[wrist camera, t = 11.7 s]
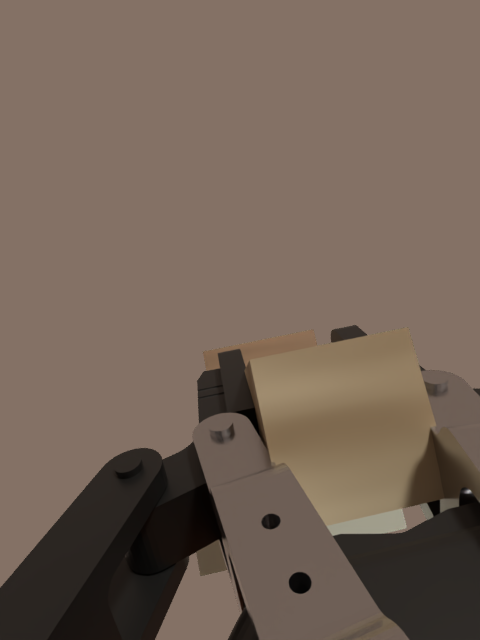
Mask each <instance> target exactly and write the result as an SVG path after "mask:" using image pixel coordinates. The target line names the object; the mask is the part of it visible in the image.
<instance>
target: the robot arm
mask: <svg viewBox="0 0 480 640" xmlns="http://www.w3.org/2000/svg"><path fill="white" fill-rule="evenodd" d="M363 336H367V334H366V333H364V332H363V331H362V330H361V329H360V328H358V326H356V325H353V326H349V327H344V328H339V329H334V330H332V331H331V343H333V342H338V341H343V340H348V339H353V338H358V337H363ZM218 359H219V365H220V368H218V369H214V370H209V371H204V372H203V373H202V375H201V376H200V378H199V379H198V381H197V383H198V409H199V424H198V425H197V427H196V428H195V429H194V431H193V442H192V443H191V444H190V445H189V446H188V447H186V448H185V449H184V450H182V451H180V452H179V453H176V454H174V455H172V456H170V457H167V458H165V459H163V460H162V457H161V456H160V454H159V453H158V452H156V451H155V450H152V449H148V448H140V449H134V450H130V451H127V452H124V453H122V454H120V455H118V456H116V457H114V458H113V459H111V460H110V461H109V462H108V463H106V464H105V466H104V467H103V468H102V469H101V470H100V471H99V472H98V474H97V475H96V476H95V477H94V478H93V479H92V481H91V482H90V483H89V484H88V485H87V486H86V488H85V489H84V490H83V491H82V492H81V494H80V495H79V496H78V497H77V498H76V499H75V501H74V502H73V503H72V504H71V505H70V507H69V508H68V509H67V510H66V511H65V512H64V514H63V515H62V516H61V517H60V519H58V521H57V522H56V523H55V524H54V525H53V527H52V528H51V529H50V530H49V531H48V533H47V534H46V535H45V536H44V537H43V538H42V540H41V541H40V542H39V543H38V544H37V545H36V547H35V548H34V549H33V550H32V551H31V552H30V554H29V555H28V556H27V557H26V558H25V559H24V561H23V562H22V563H21V564H20V565H19V567H18V568H17V569H16V570H15V571H14V573H13V574H12V575H11V576H10V577H9V578H8V580H7V581H6V582H5V583H4V584H3V586H2V587H1V588H0V640H155V638H156V636H157V634H158V631H159V629H160V627H161V625H162V622H163V620H164V617H165V616H166V613H167V611H168V609H169V607H170V604H171V602H172V600H173V598H174V595H175V593H176V591H177V589H178V586H179V584H180V582H181V580H182V577H183V575H184V573H185V571H186V569H187V566H188V562H189V556H190V555H191V554H193V553H195V552H197V551H199V550H201V549H202V548H204V547H206V546H208V545H210V544H211V543H213V542H215V541H217V540H219V543H220V547H221V550H222V553H223V557H224V560H225V563H226V567H227V570H228V573H229V577H230V580H231V583H232V587H233V590H234V593H235V597H236V601H237V604H238V607H239V611H240V617H239V618H238V620H237V622H236V624H235V626H234V628H233V630H232V632H231V634H230V636H229V638H228V640H480V389H472V388H471V387H470V386H469V385H468V383H466V381H465V380H463V379H462V378H461V377H459V376H457V375H455V374H452V373H449V372H445V371H437V370H425V369H423V368H422V367H421V366H420V365H419V367H420V370H421V374H422V377H423V381H424V384H425V388H426V391H427V395H428V398H429V402H430V405H431V408H432V412H433V415H434V419H435V422H436V426H433V427H430V428H431V433H432V438H433V443H434V448H435V453H436V458H437V463H438V467H439V472H440V478H441V483H442V488H443V493H444V498H445V499H441V500H436V501H432V502H428V503H423V504H420V506H421V508H422V510H423V513H424V515H425V517H426V519H427V521H425V522H423V523H421V524H419V525H417V526H415V527H414V528H412V529H410V530H408V531H406V532H403V533H397V534H338V535H334V536H332V534H331V533H330V531H329V530H328V528H327V526H326V525H325V523H324V522H323V520H322V519H321V517H320V515H319V514H318V512H317V511H316V509H315V508H314V506H313V504H312V503H311V501H310V500H309V498H308V497H307V495H306V493H305V492H304V490H303V489H302V487H301V486H300V484H299V482H298V481H297V479H296V478H295V476H294V475H293V473H292V471H291V470H290V468H289V467H288V466H287V464H285V463H280V464H278V465H276V464H275V462H271V460H270V456H269V453H268V450H267V449H266V447H265V445H264V444H263V442H262V440H261V439H260V433H259V428H258V422H257V416H256V411H255V406H254V403H253V399H252V396H251V392H250V389H249V385H248V382H247V378H246V375H245V372H244V371H245V369H246V366H245V363H244V360H243V356H242V353H241V350H240V349H235V350H230V351H225V352H220V353H218Z"/></svg>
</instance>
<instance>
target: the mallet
mask: <svg viewBox="0 0 480 640" xmlns="http://www.w3.org/2000/svg"><path fill="white" fill-rule="evenodd" d="M235 349H240V350H241V353H242V356H243V360H244V363H245V366H246V369H245V371H244V372H245V375H246V378H247V382H248V385H249V389H250V392H251V396H252V399H253V403H254V406H255V411H256V416H257V422H258V428H259V433H260V439H261V440H262V442H263V444H264V445H265V447H266V449H267V450H268V453H269V456H270V460H271V462H275V464H276V465H278V464H280V463H285V464H287V466H288V467H289V468H290V470H291V471H292V473H293V475H294V476H295V478H296V479H297V481H298V482H299V484H300V486H301V487H302V489H303V490H304V492H305V493H306V495H307V497H308V498H309V500H310V501H311V503H312V504H313V506H314V508H315V509H316V511H317V512H318V514H319V515H320V517H321V519H322V520H323V522H324V523H325V525H326V526H328V525H333V524H337V523H341V522H346V521H350V520H354V519H359V518H363V517H367V516H371V515H376V514H380V513H384V512H389V511H393V510H397V509H402V508H406V507H410V506H415V505H419V504H423V503H428V502H432V501H436V500H441V499H445V498H444V493H443V488H442V483H441V478H440V472H439V467H438V463H437V458H436V453H435V448H434V443H433V438H432V433H431V428H430V427H433V426H436V422H435V419H434V415H433V412H432V408H431V405H430V402H429V398H428V395H427V391H426V388H425V384H424V381H423V377H422V374H421V370H420V367H419V363H418V360H417V356H416V353H415V349H414V346H413V342H412V339H411V335H410V332H409V328H408V327H407V328H402V329H397V330H392V331H387V332H383V333H377V334H372V335H367V336H363V337H358V338H353V339H348V340H343V341H338V342H333V343H329V344H324V345H319V346H317V343H316V339H315V334H314V330H308V331H303V332H298V333H293V334H288V335H283V336H278V337H273V338H268V339H264V340H258V341H254V342H249V343H244V344H239V345H234V346H229V347H224V348H219V349H214V350H209V351H204V352H203V354H204V360H205V365H206V370H207V371H209V370H214V369H218V368H220V365H219V359H218V353H220V352H225V351H230V350H235Z"/></svg>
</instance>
